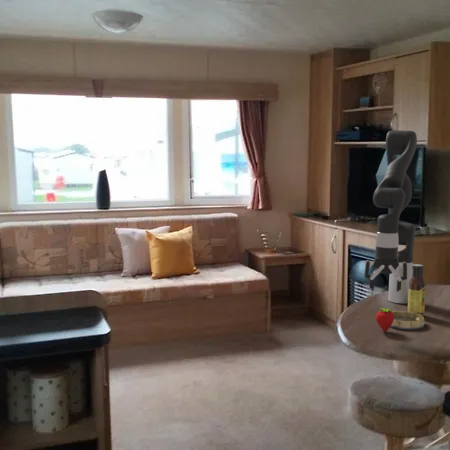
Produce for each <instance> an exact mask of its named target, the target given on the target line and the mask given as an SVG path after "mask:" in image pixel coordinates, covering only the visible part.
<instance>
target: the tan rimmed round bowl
mask: <svg viewBox="0 0 450 450" xmlns="http://www.w3.org/2000/svg"><path fill="white" fill-rule="evenodd" d="M392 311H393V314H394V321H393V323H392V325H391V326H390V328H392V329H395V328H396V329H395V330H401V329H402V330H403V331H407V330H408V331H417V330H421V329H423V328H424V327H425V318H424V315H423V316H422V315H420V314H417V313H413V312H408V310H407V311H406V310H392Z"/></svg>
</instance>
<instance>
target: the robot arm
mask: <svg viewBox="0 0 450 450" xmlns="http://www.w3.org/2000/svg"><path fill="white" fill-rule="evenodd" d="M417 144H418V137H417V134H416V132H415V131H413V130H399V129H398V130H397V129H396V130H389V131H388V132H387V133H386V137H385V153H386V154H385V155H386V163H387V167H386V169H385V171H384V174H383V179H382V180H381V182H380V183H379V184H378V186H377V187H376V189H375V190H374V192H373V194H372V195H373V196H372V202H373V204H374V206H376V207H377V208H379V209H380V208H381V209H388V211H387V212H388V213H387V214H380V215H379V216H378V217H377V224H376V225H377V227H376V229H377V230H376V238H375V255H374V257H375V258H374V260H373V261H372V260H369V259H367V260H366V261H365V268H364V278H365V279H368V280H369V289H370V290H371V291H374V290H375V289H374V288H375V278H376V277H377V276H378V275H379V274H381V275H385V274H386V275H389V278H388V279H389V280H388V299H387V300H388V301H389V302H391V303H393V304H394V303H395V304H408V289H409V281H410V279H411V278H412V274H413V269H412V265H414V248H415V246H414V245H415V237H416V227H415V225H414V224H413V223H407V222H400V216H401V214H402V212H403V211H404V210H405V208H406V207H407V206H408V205H409V203H410V202H411V200H412V196H413V195H412V191H413V189H412V187H413V186H412V180H411V179H410V177H409V176H408V174H407V170H408V168H409V167H410V164H411V162H412V160H413V157H414V155H415V153H416V150H417V146H418V145H417ZM399 246H405V247H404V248H403V249H401V250H399ZM373 265H374V268H375V269H374V270H373V272H372V273H371V274H369V273H370V268H371V267H372V266H373Z"/></svg>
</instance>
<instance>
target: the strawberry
mask: <svg viewBox="0 0 450 450" xmlns="http://www.w3.org/2000/svg"><path fill="white" fill-rule="evenodd" d="M384 305H385V307H386V308H383V307H382V308H381V307H379V309H380V310H378V311H377V313H376V314H375V320H376V323H377V324H378V326H379V328H380V329H381V330H382V332H384V333H386V332H387V331H388V330H389V329H390V328H391V327H390V326H391V325H392V323H393V321H394V314H393V311H394V310H392V309H391V308H388V307H387V305H386V304H384Z"/></svg>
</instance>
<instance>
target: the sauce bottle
mask: <svg viewBox="0 0 450 450" xmlns="http://www.w3.org/2000/svg"><path fill="white" fill-rule="evenodd" d="M412 269H413V271H412V278H411V279H410V281H409V289H408V303H407V311H408V312H413V313H417V314H420V315H422V316H423V317H424V315H425V309H426V307H425V305H426V303H425V302H426V282H425V280H424V275H423V271H424V265H423V264H417V263H413V265H412Z"/></svg>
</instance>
